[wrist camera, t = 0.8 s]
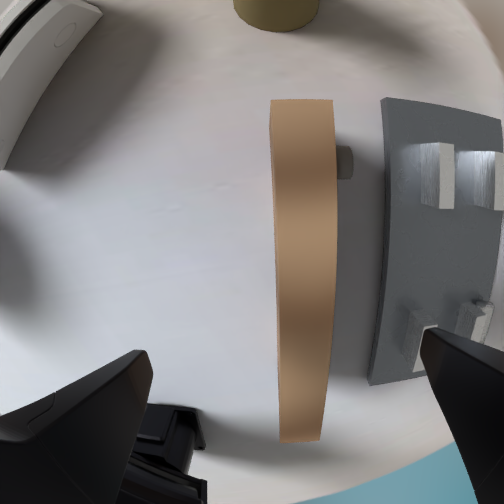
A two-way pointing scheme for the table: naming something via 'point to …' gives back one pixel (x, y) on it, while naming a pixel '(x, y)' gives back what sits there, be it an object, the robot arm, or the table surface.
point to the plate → (436, 230)
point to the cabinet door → (305, 256)
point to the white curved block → (35, 56)
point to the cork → (276, 13)
